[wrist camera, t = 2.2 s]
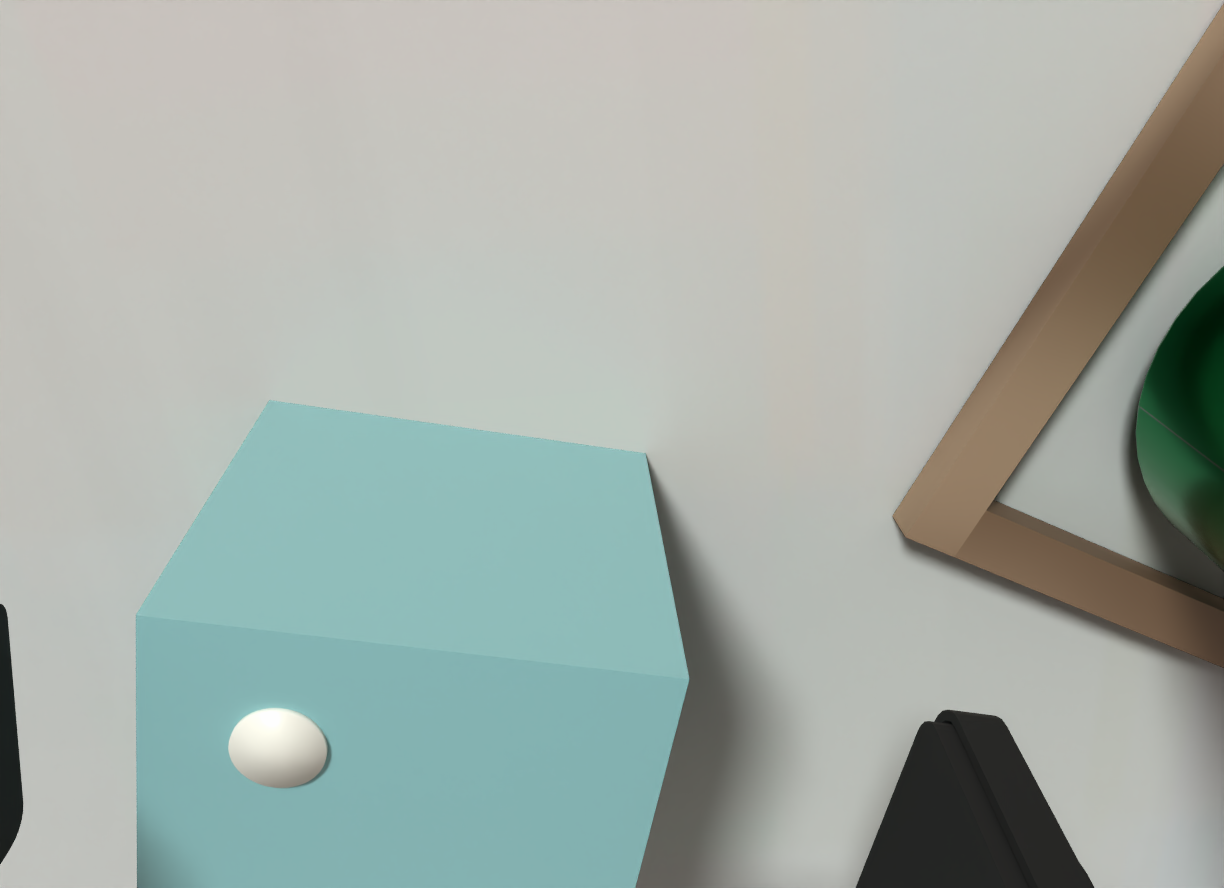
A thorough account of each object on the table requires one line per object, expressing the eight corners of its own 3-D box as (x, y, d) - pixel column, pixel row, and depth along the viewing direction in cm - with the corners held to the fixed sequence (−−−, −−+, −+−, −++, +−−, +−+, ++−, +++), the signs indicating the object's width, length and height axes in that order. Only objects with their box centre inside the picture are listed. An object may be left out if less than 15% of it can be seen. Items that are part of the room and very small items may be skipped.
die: (583, 737, 16) (597, 1041, 12) (255, 702, 16) (135, 1009, 11) (644, 451, 14) (690, 683, 10) (270, 398, 14) (132, 620, 9)
